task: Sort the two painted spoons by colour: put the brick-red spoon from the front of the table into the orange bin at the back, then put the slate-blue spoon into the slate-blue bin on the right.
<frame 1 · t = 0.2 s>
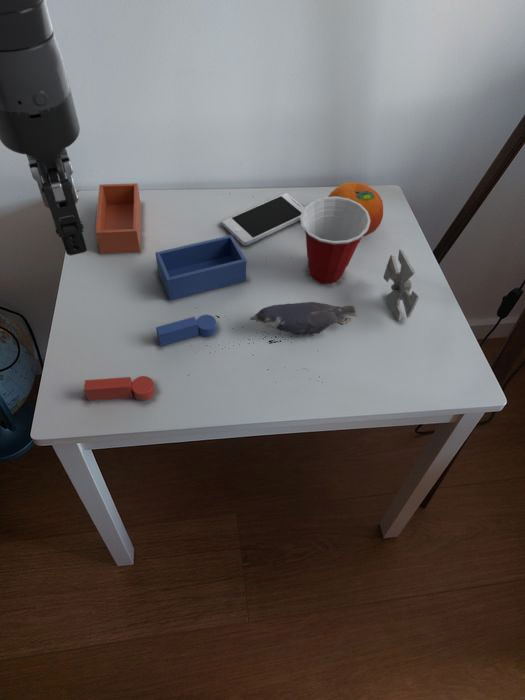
hand: (69, 228, 60), 21 cm above the table, tool pointing down, fingers open, 8 cm apart
plastic cup: (323, 273, 88), on the table
blue bin: (202, 277, 86), on the table
red spoon: (122, 393, 71), on the table
blue spoon: (187, 334, 78), on the table
bird model: (301, 329, 80), on the table
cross: (391, 308, 84), on the table
orange bin: (121, 227, 92), on the table
fruit: (349, 228, 96), on the table
smartphone: (266, 220, 96), on the table
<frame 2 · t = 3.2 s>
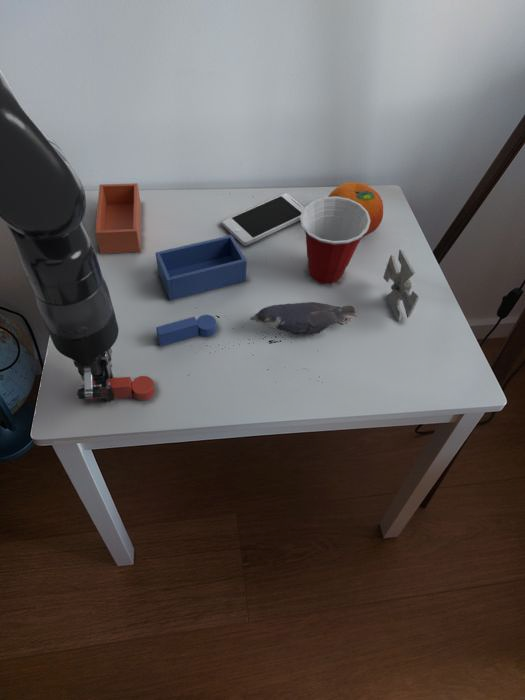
hand: (106, 392, 71), 1 cm above the table, tool pointing down, fingers closed on red spoon
red spoon: (122, 393, 71), on the table, touching gripper
everything else where it was.
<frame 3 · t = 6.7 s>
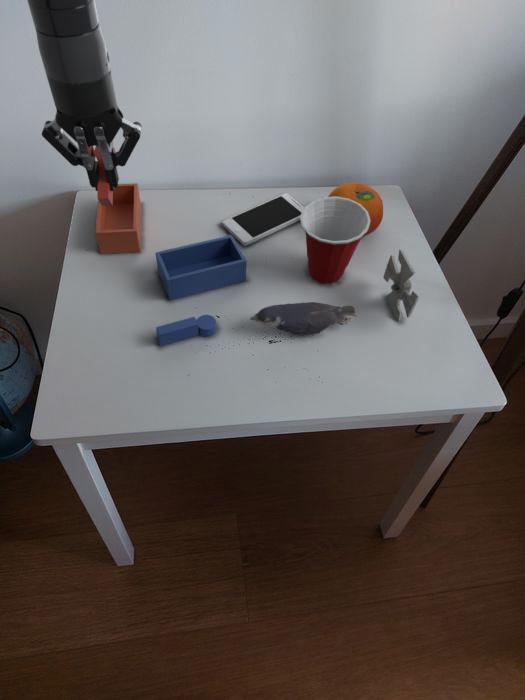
hand: (106, 187, 75), 15 cm above the table, tool pointing down, fingers closed on red spoon
red spoon: (107, 176, 76), point 15 cm above the table, tilted 32°, touching gripper
everything else where it was.
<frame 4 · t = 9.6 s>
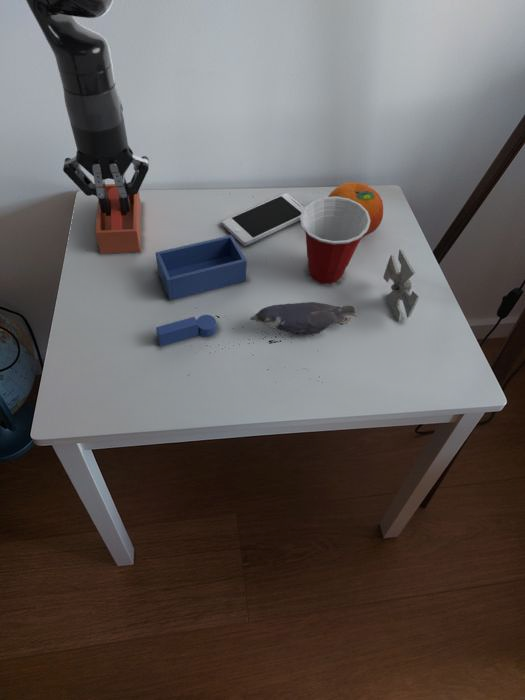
hand: (117, 212, 87), 5 cm above the table, tool pointing down, fingers closed
red spoon: (118, 215, 89), point 3 cm above the table, tilted 20°
everything else where it was.
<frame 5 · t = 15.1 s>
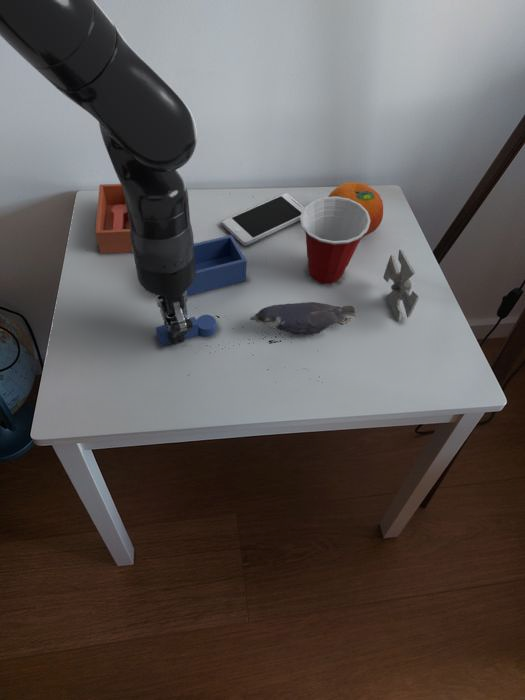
hand: (175, 336, 77), 1 cm above the table, tool pointing down, fingers closed on blue spoon
red spoon: (120, 228, 91), point 1 cm above the table, touching orange bin
blue spoon: (187, 334, 78), on the table, touching gripper
everything else where it was.
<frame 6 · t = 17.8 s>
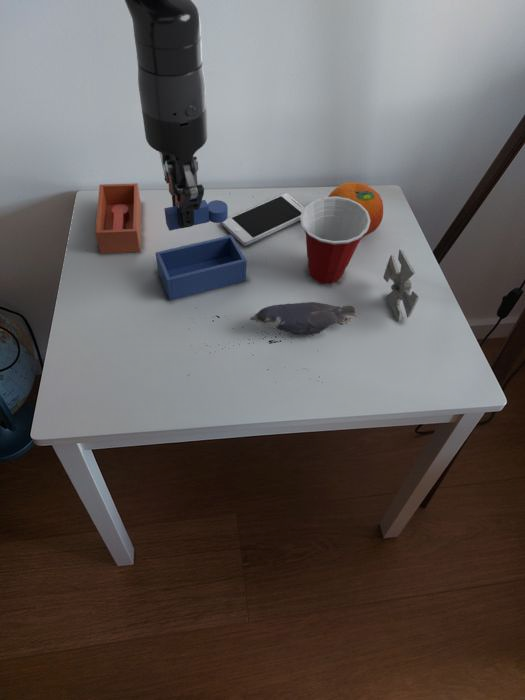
hand: (184, 220, 73), 14 cm above the table, tool pointing down, fingers closed on blue spoon
blue spoon: (197, 220, 74), point 13 cm above the table, touching gripper
everything else where it was.
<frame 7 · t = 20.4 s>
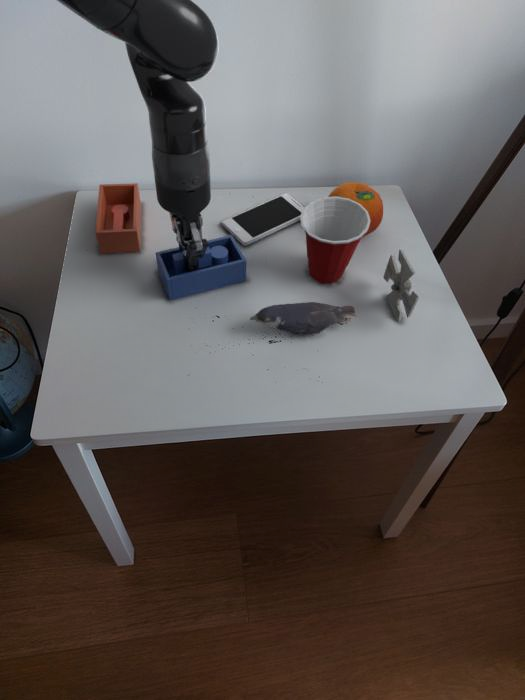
hand: (189, 264, 82), 3 cm above the table, tool pointing down, fingers closed on blue spoon
blue spoon: (201, 264, 84), point 3 cm above the table, touching gripper
everything else where it was.
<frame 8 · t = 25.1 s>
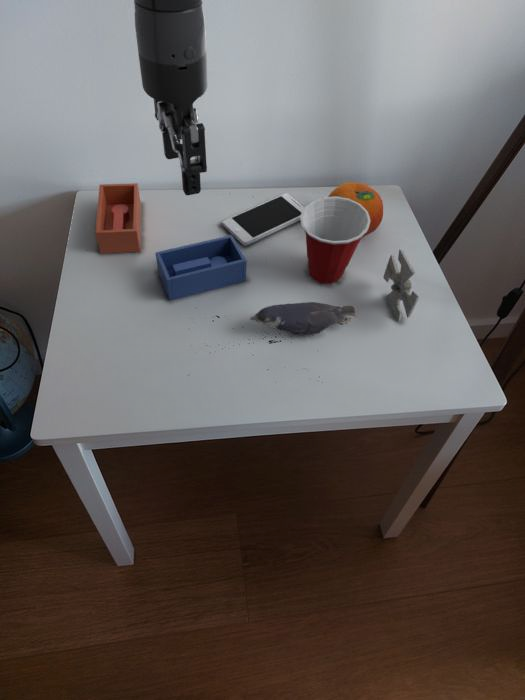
hand: (182, 174, 69), 20 cm above the table, tool pointing down, fingers open, 8 cm apart
blue spoon: (201, 274, 85), point 1 cm above the table, touching blue bin
everything else where it was.
at the end: red spoon inside the target area in the orange bin (0.8 cm from its centre), point 0.6 cm above the orange bin's base; blue spoon inside the target area in the blue bin (0.1 cm from its centre), point 0.6 cm above the blue bin's base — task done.
